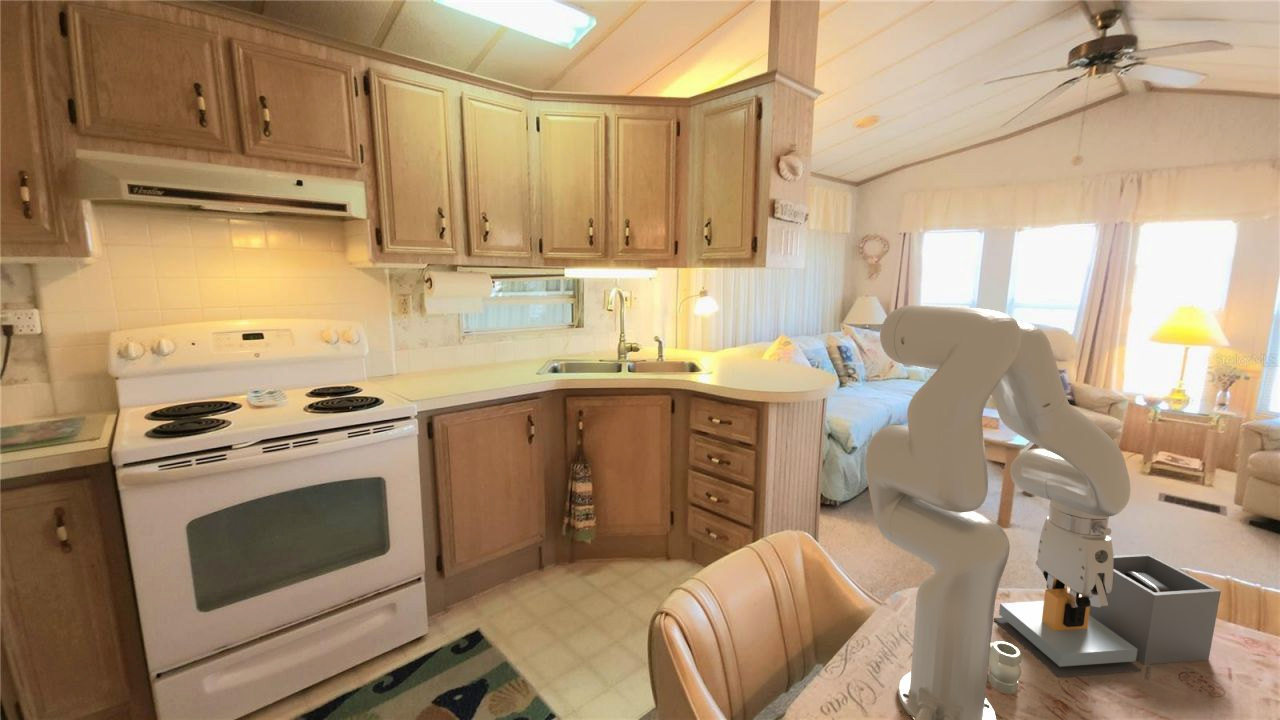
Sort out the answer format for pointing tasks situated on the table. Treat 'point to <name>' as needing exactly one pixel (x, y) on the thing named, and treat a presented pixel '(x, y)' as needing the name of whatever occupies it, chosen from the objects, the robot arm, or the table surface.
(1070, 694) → the table surface
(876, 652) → the table surface
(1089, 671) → the mat
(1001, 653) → the valve
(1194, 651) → the tub
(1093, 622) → the lid
